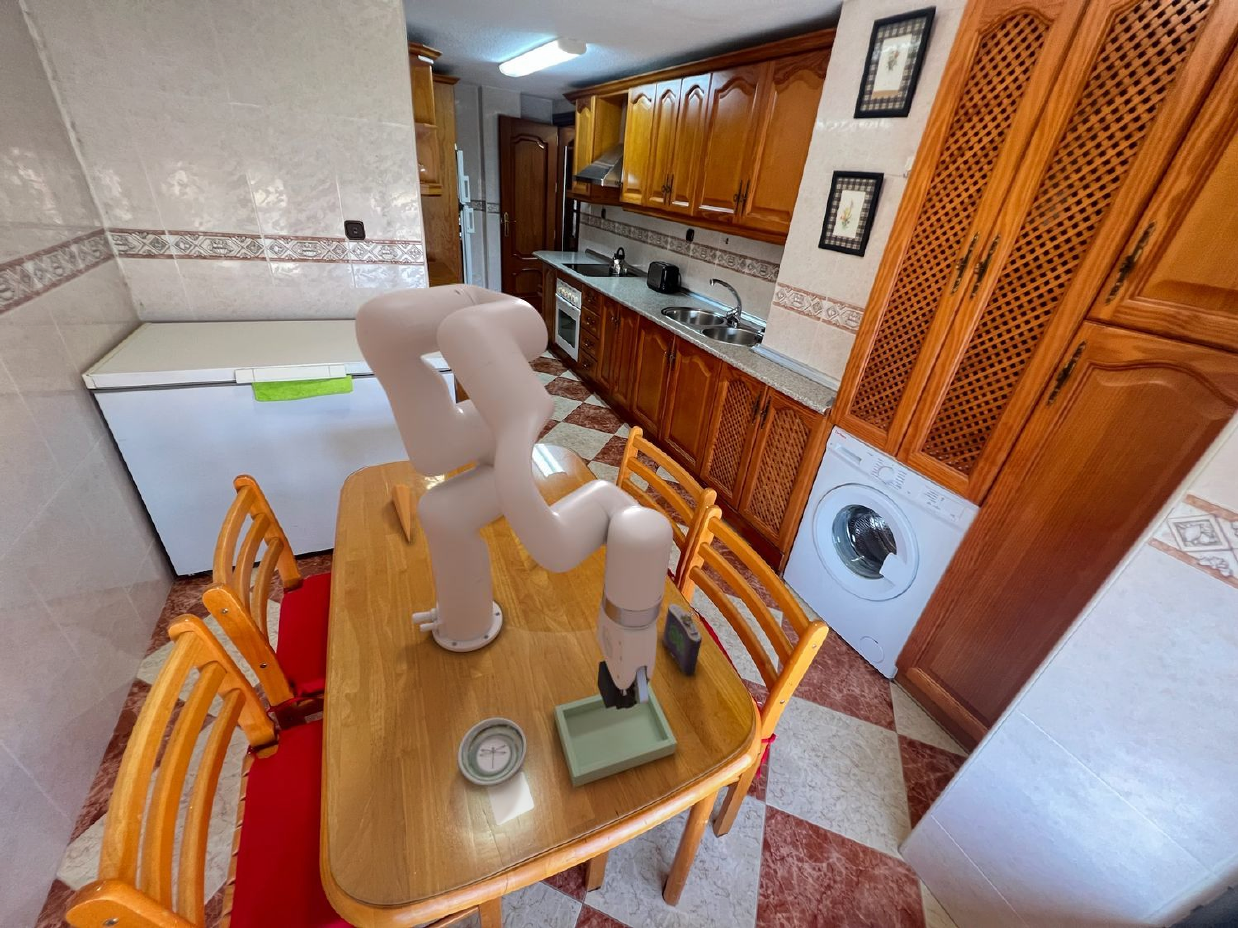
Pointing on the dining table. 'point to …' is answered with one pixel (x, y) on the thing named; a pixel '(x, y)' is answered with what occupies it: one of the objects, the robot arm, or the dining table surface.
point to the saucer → (492, 751)
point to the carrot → (402, 506)
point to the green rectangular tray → (611, 736)
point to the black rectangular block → (607, 685)
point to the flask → (682, 638)
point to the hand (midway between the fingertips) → (620, 689)
